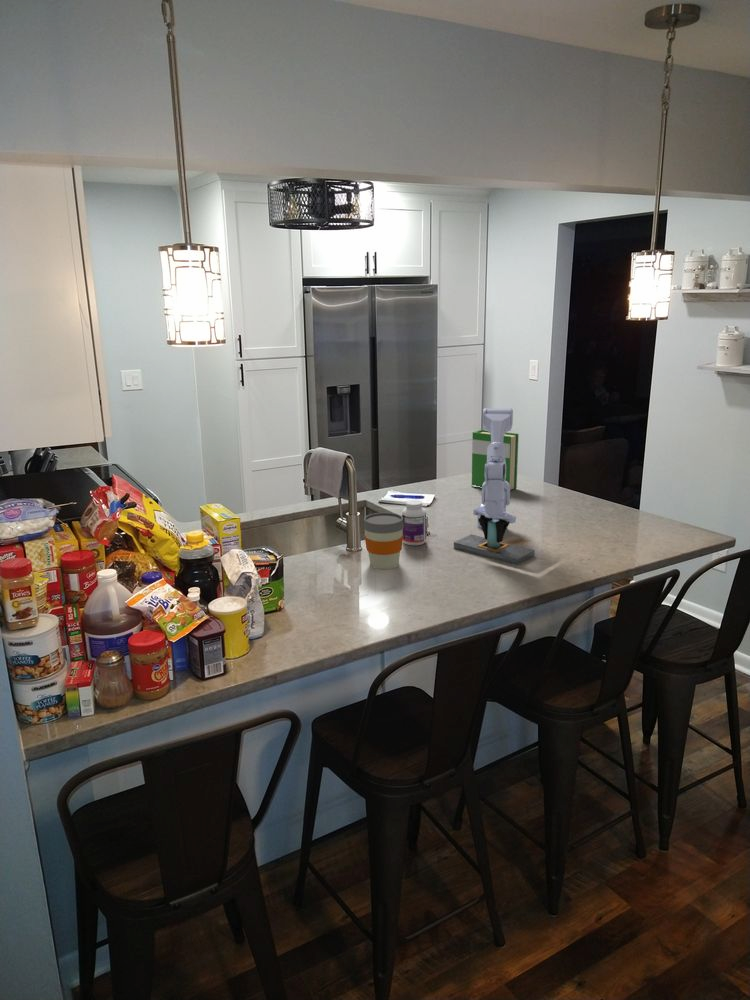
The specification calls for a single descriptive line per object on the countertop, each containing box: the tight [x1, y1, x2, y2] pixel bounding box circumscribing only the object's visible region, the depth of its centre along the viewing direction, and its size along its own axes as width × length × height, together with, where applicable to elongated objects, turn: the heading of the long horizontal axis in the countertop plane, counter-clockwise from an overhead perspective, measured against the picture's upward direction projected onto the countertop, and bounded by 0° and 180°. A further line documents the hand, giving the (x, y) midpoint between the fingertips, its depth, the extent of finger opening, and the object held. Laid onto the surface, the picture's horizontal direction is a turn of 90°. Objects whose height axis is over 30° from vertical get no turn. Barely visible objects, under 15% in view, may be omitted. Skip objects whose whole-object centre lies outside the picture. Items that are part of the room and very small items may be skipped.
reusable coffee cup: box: [363, 512, 404, 570], centre depth 221 cm, size 13×13×15 cm
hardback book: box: [471, 429, 519, 491], centre depth 302 cm, size 18×7×24 cm, turn 52°
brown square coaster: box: [501, 535, 532, 547], centre depth 238 cm, size 8×8×1 cm
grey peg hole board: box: [453, 533, 535, 569], centre depth 228 cm, size 24×10×3 cm, turn 48°
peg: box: [487, 520, 500, 549], centre depth 227 cm, size 4×4×8 cm
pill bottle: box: [401, 499, 427, 547], centre depth 239 cm, size 8×8×14 cm
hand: (493, 540), depth 227 cm, fingers closed on peg, 4 cm apart
